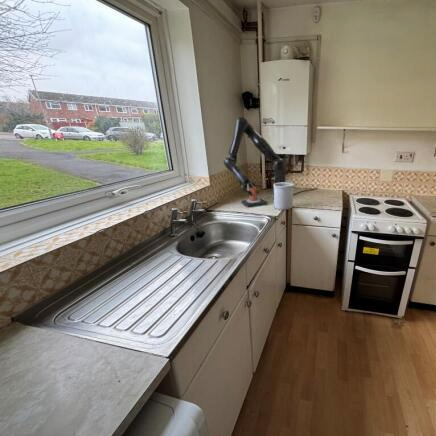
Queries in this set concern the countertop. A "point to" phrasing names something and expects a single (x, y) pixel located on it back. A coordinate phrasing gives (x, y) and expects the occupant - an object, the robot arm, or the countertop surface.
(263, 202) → the kitchen scale
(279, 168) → the robot arm
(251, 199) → the cup
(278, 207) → the utensil holder
